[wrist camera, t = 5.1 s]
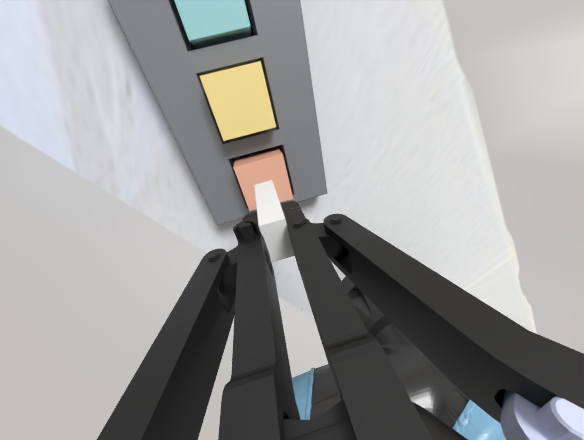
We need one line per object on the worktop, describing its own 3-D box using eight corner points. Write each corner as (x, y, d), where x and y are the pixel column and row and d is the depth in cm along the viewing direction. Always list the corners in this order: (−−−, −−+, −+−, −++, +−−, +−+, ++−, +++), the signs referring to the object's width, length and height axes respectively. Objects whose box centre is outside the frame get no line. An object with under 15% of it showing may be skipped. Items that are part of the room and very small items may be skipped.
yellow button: (272, 124, 22) (276, 127, 19) (226, 136, 21) (223, 141, 19) (258, 67, 19) (260, 61, 17) (205, 80, 19) (199, 75, 16)
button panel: (320, 185, 28) (327, 193, 26) (220, 213, 27) (217, 224, 25) (278, -79, 17) (284, -113, 14) (102, -42, 16) (74, -71, 13)
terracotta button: (288, 189, 26) (293, 198, 23) (249, 200, 25) (249, 211, 23) (278, 148, 23) (282, 154, 20) (234, 160, 23) (233, 167, 20)
